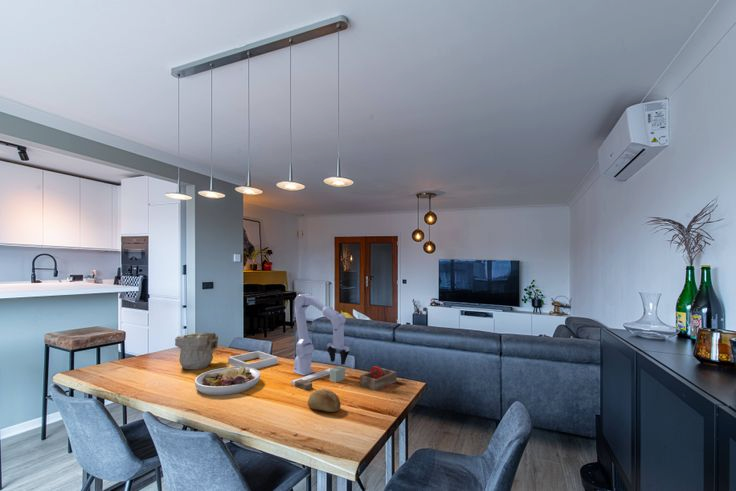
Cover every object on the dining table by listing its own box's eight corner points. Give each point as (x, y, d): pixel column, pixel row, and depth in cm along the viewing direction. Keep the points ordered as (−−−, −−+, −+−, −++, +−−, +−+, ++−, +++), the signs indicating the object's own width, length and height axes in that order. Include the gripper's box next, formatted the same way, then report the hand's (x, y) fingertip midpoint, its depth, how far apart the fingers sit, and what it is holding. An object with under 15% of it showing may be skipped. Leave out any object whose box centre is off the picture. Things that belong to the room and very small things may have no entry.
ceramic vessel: (184, 345, 210) (209, 315, 209) (211, 371, 206) (236, 340, 206) (157, 353, 187) (185, 320, 187) (186, 383, 184) (215, 349, 183)
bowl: (185, 385, 164) (185, 369, 164) (242, 372, 186) (243, 358, 186) (209, 403, 143) (210, 385, 144) (271, 386, 165) (271, 370, 166)
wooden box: (360, 385, 167) (360, 375, 167) (380, 377, 180) (380, 367, 181) (376, 390, 160) (376, 380, 161) (396, 381, 174) (396, 371, 174)
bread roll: (334, 417, 132) (334, 397, 132) (302, 411, 137) (302, 391, 138) (344, 408, 141) (344, 389, 141) (313, 402, 146) (314, 384, 147)
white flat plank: (291, 383, 168) (291, 380, 168) (330, 370, 190) (330, 368, 190) (296, 385, 165) (296, 382, 165) (335, 372, 187) (335, 369, 187)
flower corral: (228, 363, 199) (228, 357, 200) (257, 357, 215) (258, 350, 216) (247, 371, 186) (247, 364, 186) (277, 363, 202) (277, 356, 202)
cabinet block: (329, 380, 174) (330, 369, 174) (338, 377, 179) (339, 366, 180) (335, 382, 171) (336, 370, 171) (345, 379, 176) (345, 367, 177)
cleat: (294, 386, 165) (294, 381, 165) (301, 384, 168) (301, 379, 168) (305, 390, 159) (306, 385, 159) (312, 388, 162) (312, 383, 163)
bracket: (366, 382, 171) (367, 367, 171) (369, 379, 175) (370, 364, 175) (387, 388, 166) (388, 372, 166) (390, 385, 170) (391, 369, 170)
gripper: (323, 336, 178) (322, 361, 177) (343, 340, 169) (342, 367, 168) (332, 334, 183) (332, 359, 183) (352, 338, 174) (351, 364, 173)
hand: (337, 362), depth 176 cm, fingers open, 7 cm apart
